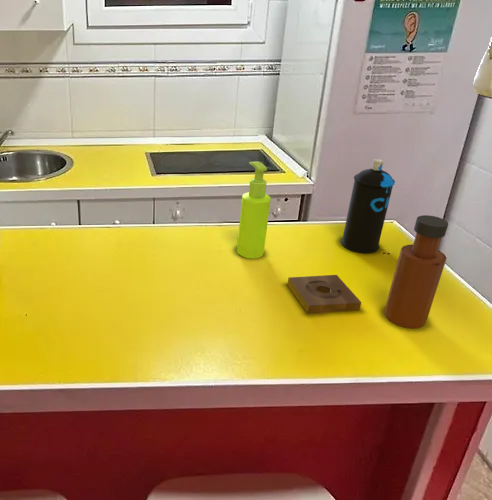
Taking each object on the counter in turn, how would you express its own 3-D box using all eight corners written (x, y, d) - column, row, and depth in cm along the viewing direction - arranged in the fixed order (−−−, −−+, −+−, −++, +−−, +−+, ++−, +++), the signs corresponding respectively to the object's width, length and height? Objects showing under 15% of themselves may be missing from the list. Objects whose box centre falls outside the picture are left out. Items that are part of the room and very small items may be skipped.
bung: (430, 236, 88) (436, 214, 87) (447, 248, 84) (454, 226, 83) (405, 237, 88) (411, 215, 86) (421, 249, 84) (427, 227, 82)
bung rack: (335, 282, 104) (336, 274, 103) (359, 310, 95) (361, 302, 94) (287, 285, 103) (288, 277, 102) (307, 314, 94) (309, 305, 93)
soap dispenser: (256, 243, 119) (266, 158, 110) (267, 257, 113) (279, 169, 104) (231, 244, 118) (239, 160, 109) (241, 259, 112) (251, 170, 103)
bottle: (411, 305, 96) (436, 222, 89) (434, 327, 91) (462, 240, 83) (377, 307, 96) (398, 224, 88) (397, 330, 90) (422, 242, 82)
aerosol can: (333, 244, 119) (350, 159, 109) (351, 233, 124) (368, 152, 114) (368, 257, 113) (389, 169, 104) (385, 245, 118) (406, 160, 109)
